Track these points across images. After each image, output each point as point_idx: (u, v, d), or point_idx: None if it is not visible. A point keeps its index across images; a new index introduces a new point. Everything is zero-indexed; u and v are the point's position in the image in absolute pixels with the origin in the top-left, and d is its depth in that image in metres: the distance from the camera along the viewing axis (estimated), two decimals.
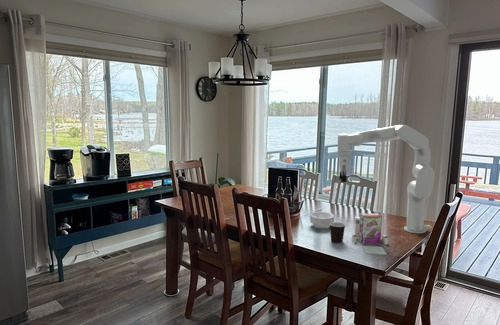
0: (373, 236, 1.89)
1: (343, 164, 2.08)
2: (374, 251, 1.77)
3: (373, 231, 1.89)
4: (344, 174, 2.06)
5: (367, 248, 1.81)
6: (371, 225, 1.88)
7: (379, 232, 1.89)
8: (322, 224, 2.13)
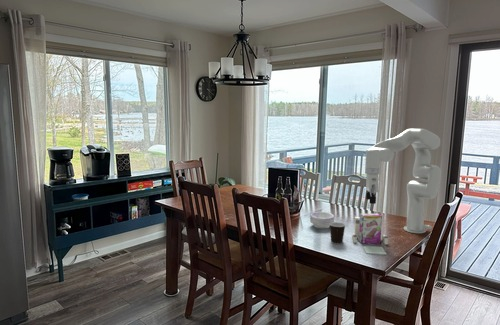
0: (373, 236, 1.89)
1: (372, 183, 1.83)
2: (374, 251, 1.77)
3: (373, 231, 1.89)
4: (374, 195, 1.81)
5: (367, 248, 1.81)
6: (371, 225, 1.88)
7: (379, 232, 1.89)
8: (322, 224, 2.13)
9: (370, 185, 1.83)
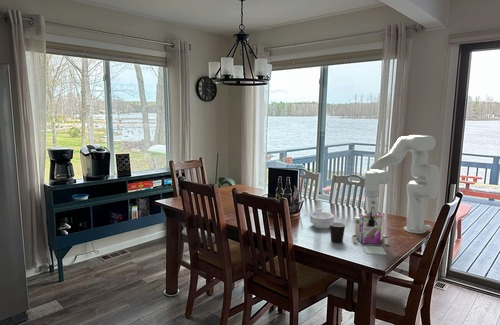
0: (373, 236, 1.89)
1: (372, 206, 1.84)
2: (374, 251, 1.77)
3: (373, 231, 1.89)
4: (372, 218, 1.85)
5: (367, 248, 1.81)
6: None
7: (379, 232, 1.89)
8: (322, 224, 2.13)
9: (369, 208, 1.85)
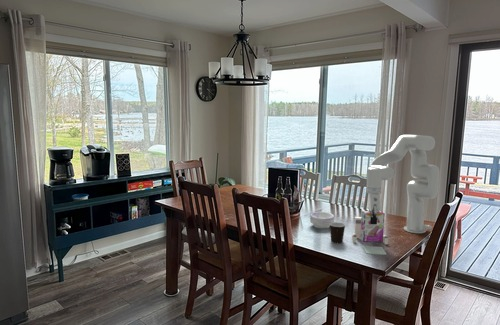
0: (375, 234, 1.84)
1: (374, 203, 1.79)
2: (374, 251, 1.77)
3: (375, 229, 1.84)
4: (374, 216, 1.80)
5: (367, 248, 1.81)
6: None
7: (381, 230, 1.84)
8: (322, 224, 2.13)
9: (371, 205, 1.80)
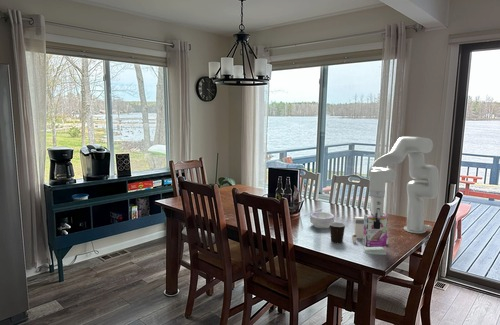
0: (378, 239, 1.77)
1: (377, 207, 1.72)
2: (374, 251, 1.77)
3: (379, 233, 1.76)
4: (378, 220, 1.73)
5: (367, 248, 1.81)
6: None
7: (385, 234, 1.77)
8: (322, 224, 2.13)
9: (375, 209, 1.72)
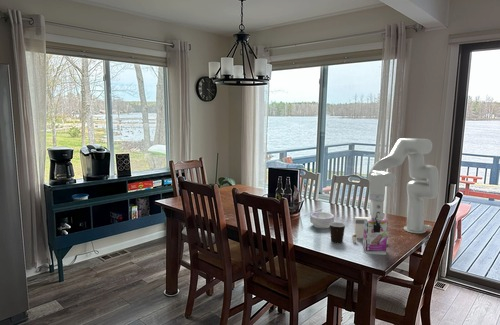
0: (378, 243, 1.77)
1: (377, 210, 1.72)
2: (374, 251, 1.77)
3: (379, 238, 1.77)
4: (378, 223, 1.72)
5: None
6: None
7: (385, 239, 1.77)
8: (322, 224, 2.13)
9: (374, 212, 1.72)
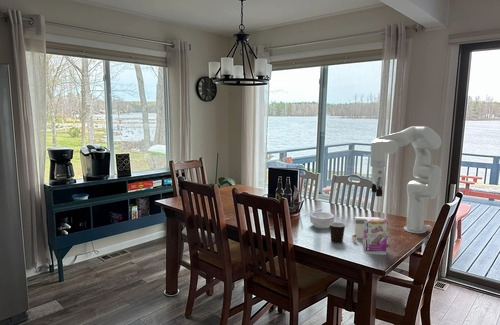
0: (378, 243, 1.77)
1: (378, 176, 1.81)
2: (374, 251, 1.77)
3: (379, 238, 1.77)
4: (380, 187, 1.79)
5: None
6: (376, 231, 1.76)
7: (385, 239, 1.77)
8: (322, 224, 2.13)
9: (376, 178, 1.81)
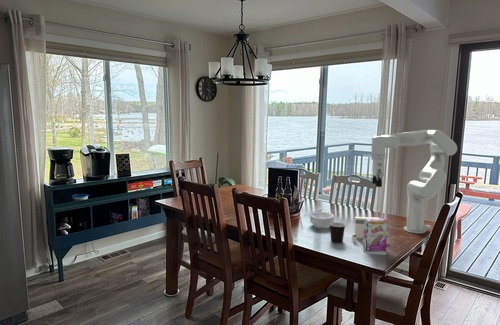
0: (378, 243, 1.77)
1: (378, 168, 1.96)
2: (374, 251, 1.77)
3: (379, 238, 1.77)
4: (380, 178, 1.95)
5: None
6: (376, 231, 1.76)
7: (385, 239, 1.77)
8: (322, 224, 2.13)
9: (376, 170, 1.96)
